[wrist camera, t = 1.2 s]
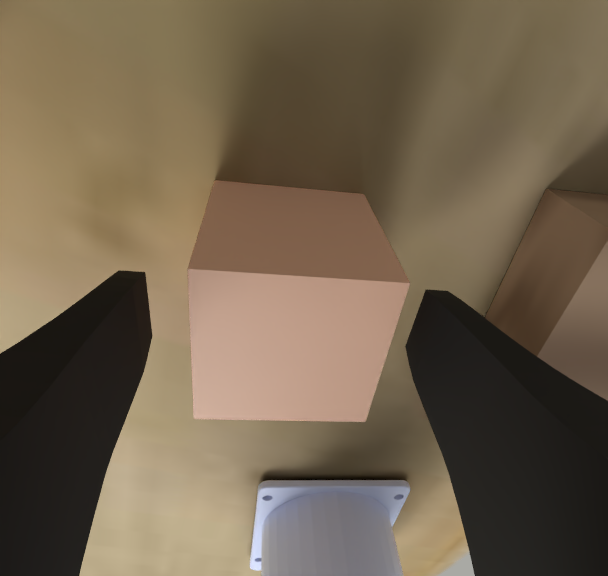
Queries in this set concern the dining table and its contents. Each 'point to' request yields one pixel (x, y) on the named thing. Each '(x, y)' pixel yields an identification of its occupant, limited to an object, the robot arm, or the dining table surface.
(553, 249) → the walnut base
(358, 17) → the dining table surface
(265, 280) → the terracotta cube
